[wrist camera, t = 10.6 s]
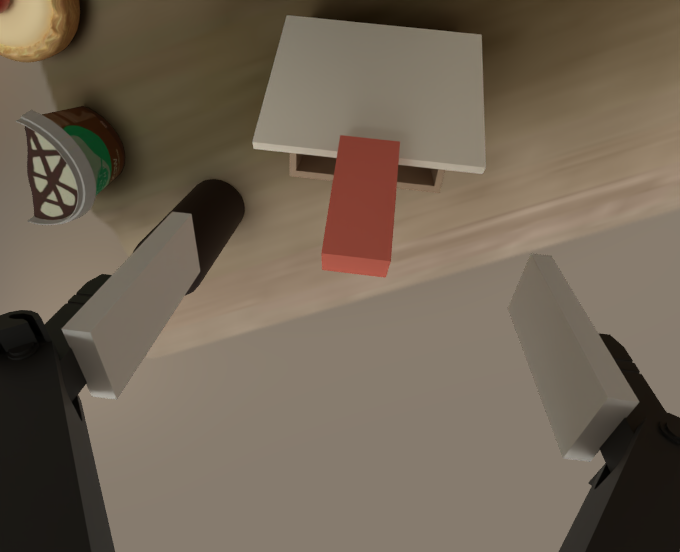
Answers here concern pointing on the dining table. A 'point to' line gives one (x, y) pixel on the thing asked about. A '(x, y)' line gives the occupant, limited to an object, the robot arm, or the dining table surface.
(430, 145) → the lid
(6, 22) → the pastry
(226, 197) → the bottle
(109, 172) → the food container
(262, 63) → the dining table surface
